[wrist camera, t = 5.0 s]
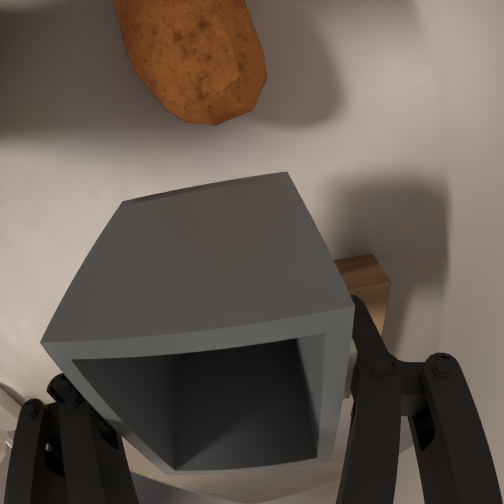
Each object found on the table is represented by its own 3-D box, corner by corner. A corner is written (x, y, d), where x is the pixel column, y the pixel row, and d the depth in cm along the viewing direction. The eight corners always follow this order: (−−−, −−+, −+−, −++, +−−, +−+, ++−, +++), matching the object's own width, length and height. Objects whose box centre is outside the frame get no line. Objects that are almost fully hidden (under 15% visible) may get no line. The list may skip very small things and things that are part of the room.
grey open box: (122, 201, 13) (39, 342, 6) (286, 171, 13) (355, 305, 6) (178, 344, 18) (166, 474, 11) (299, 327, 17) (330, 459, 11)
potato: (177, 133, 20) (153, 159, 14) (113, -15, 14) (69, -43, 8) (276, 96, 19) (296, 105, 13) (211, -56, 13) (203, -103, 7)
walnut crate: (216, 278, 27) (214, 310, 23) (372, 254, 26) (390, 281, 23) (245, 383, 35) (246, 412, 31) (359, 364, 34) (369, 390, 31)
